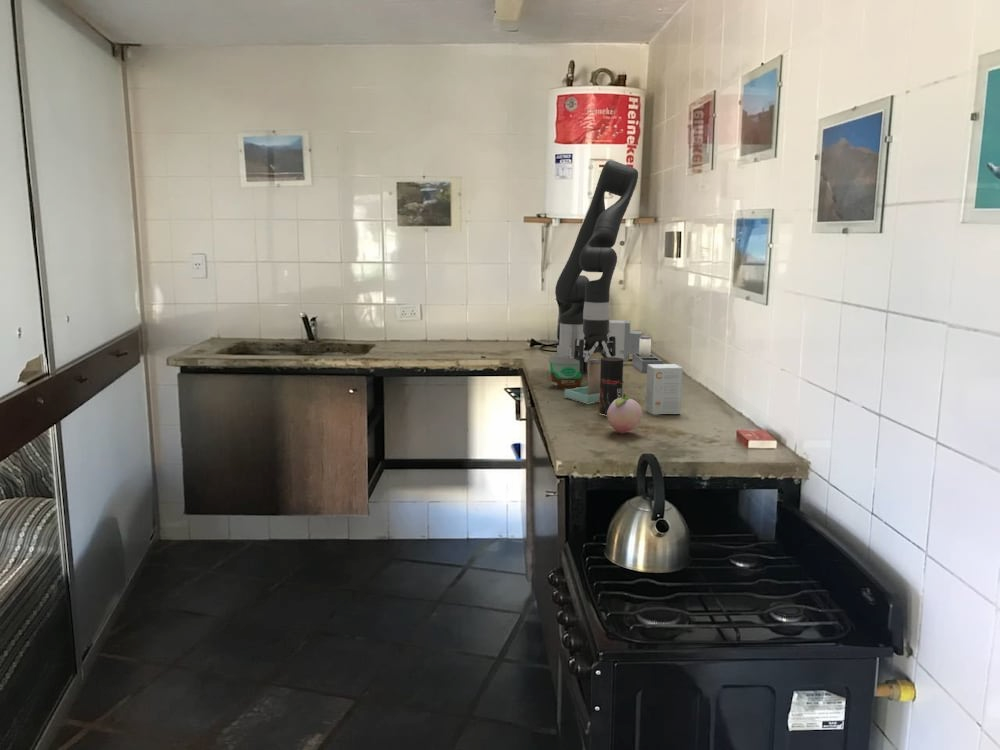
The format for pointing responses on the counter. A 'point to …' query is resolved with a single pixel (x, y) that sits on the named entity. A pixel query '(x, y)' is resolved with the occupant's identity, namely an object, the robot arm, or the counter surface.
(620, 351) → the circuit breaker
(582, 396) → the parts tray
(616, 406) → the decorative fruit
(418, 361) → the counter surface
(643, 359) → the holder
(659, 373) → the small box
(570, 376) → the food container
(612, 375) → the deodorant
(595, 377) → the brown tall block
